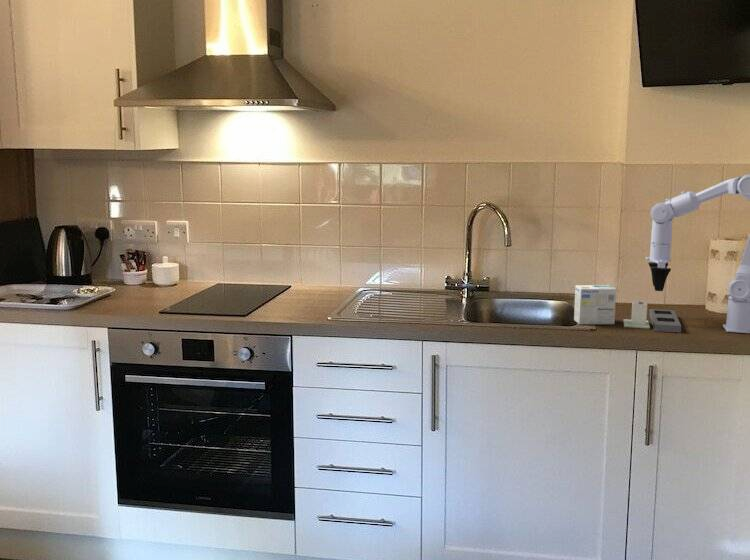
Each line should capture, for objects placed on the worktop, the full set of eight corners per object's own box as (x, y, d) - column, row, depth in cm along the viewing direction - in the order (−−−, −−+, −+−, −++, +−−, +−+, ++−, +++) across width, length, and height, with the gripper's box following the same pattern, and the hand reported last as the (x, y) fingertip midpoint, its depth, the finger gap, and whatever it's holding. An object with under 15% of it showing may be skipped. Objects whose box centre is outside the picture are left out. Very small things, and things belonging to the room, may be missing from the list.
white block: (645, 322, 234) (646, 301, 233) (646, 325, 231) (647, 304, 230) (631, 321, 235) (632, 300, 234) (631, 324, 232) (632, 303, 231)
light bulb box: (607, 319, 240) (610, 284, 238) (615, 324, 233) (617, 288, 231) (572, 319, 239) (574, 284, 238) (579, 324, 233) (580, 288, 231)
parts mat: (648, 322, 236) (648, 320, 236) (649, 328, 229) (649, 326, 228) (623, 320, 238) (623, 319, 238) (624, 326, 230) (624, 325, 230)
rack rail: (673, 316, 244) (674, 310, 243) (680, 332, 224) (681, 325, 223) (649, 315, 245) (649, 308, 245) (654, 331, 225) (654, 324, 225)
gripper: (645, 239, 244) (642, 283, 247) (648, 245, 230) (645, 292, 233) (669, 240, 242) (666, 284, 245) (674, 246, 229) (670, 293, 231)
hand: (657, 288), depth 239 cm, fingers open, 7 cm apart
